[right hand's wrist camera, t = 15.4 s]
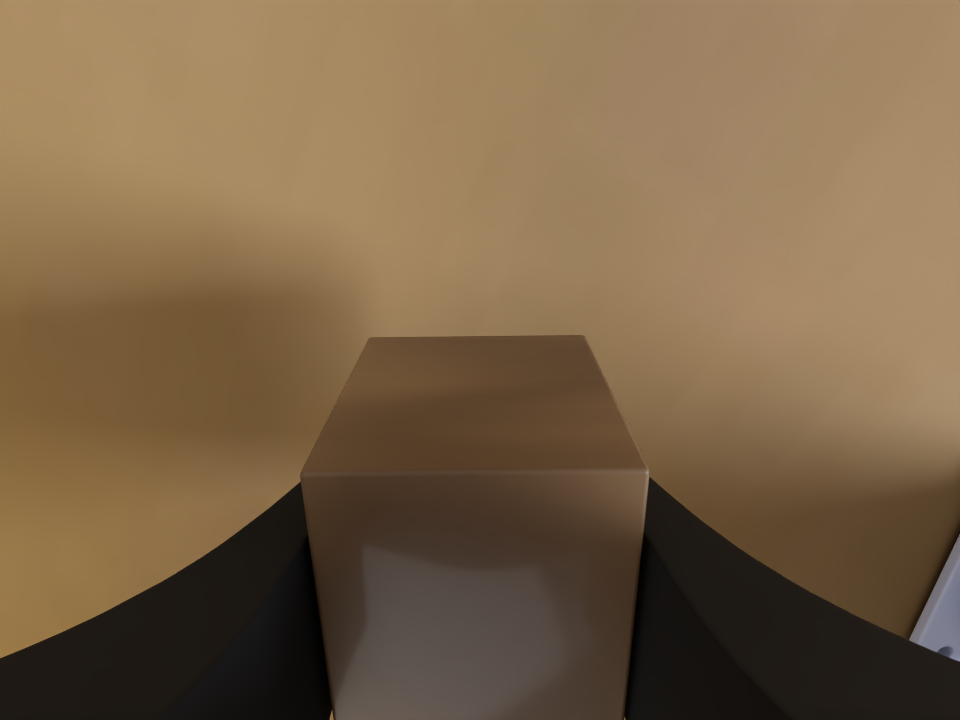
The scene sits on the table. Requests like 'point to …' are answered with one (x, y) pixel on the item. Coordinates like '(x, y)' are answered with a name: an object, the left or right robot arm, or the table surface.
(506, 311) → the table surface
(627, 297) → the table surface
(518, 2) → the table surface
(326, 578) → the block
